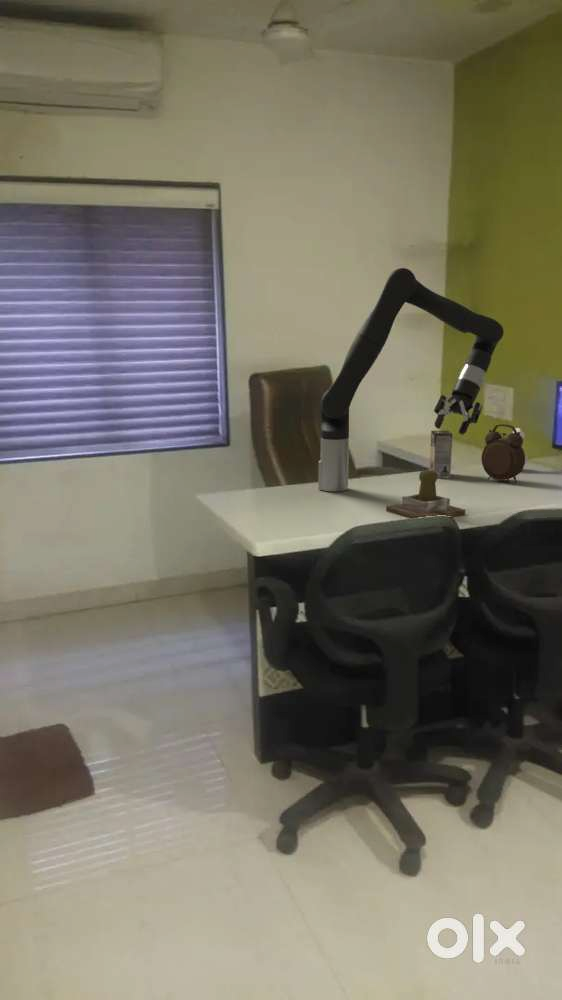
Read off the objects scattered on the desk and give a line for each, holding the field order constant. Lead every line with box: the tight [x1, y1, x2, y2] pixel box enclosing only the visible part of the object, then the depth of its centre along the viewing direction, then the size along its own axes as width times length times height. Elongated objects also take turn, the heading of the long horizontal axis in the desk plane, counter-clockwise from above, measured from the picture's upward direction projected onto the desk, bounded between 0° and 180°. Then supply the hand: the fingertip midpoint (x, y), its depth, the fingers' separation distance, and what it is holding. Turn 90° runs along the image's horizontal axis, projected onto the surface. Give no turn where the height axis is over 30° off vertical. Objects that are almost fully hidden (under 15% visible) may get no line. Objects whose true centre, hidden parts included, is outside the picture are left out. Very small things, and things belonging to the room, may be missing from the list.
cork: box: [418, 469, 438, 502], centre depth 221 cm, size 6×6×11 cm
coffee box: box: [429, 430, 453, 479], centre depth 275 cm, size 9×6×16 cm
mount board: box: [385, 493, 466, 519], centre depth 222 cm, size 16×16×4 cm
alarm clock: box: [481, 423, 526, 484], centre depth 265 cm, size 15×7×20 cm, turn 40°
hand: (448, 430), depth 234 cm, fingers open, 8 cm apart
